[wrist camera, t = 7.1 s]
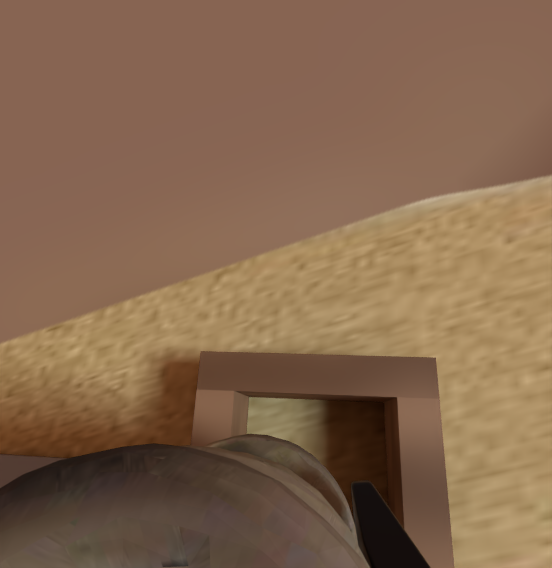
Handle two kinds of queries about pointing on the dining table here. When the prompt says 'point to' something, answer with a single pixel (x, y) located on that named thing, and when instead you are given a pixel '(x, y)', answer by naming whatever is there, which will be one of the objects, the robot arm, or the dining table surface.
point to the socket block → (347, 387)
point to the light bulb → (180, 510)
